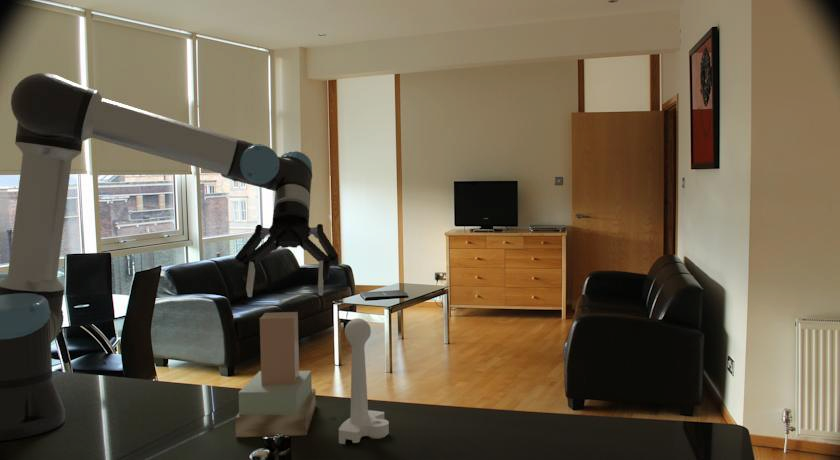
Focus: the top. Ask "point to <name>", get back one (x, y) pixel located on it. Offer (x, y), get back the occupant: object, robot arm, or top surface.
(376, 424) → the joystick
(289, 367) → the terracotta column
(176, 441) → the top surface
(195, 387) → the top surface
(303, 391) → the tower top
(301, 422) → the tower base
